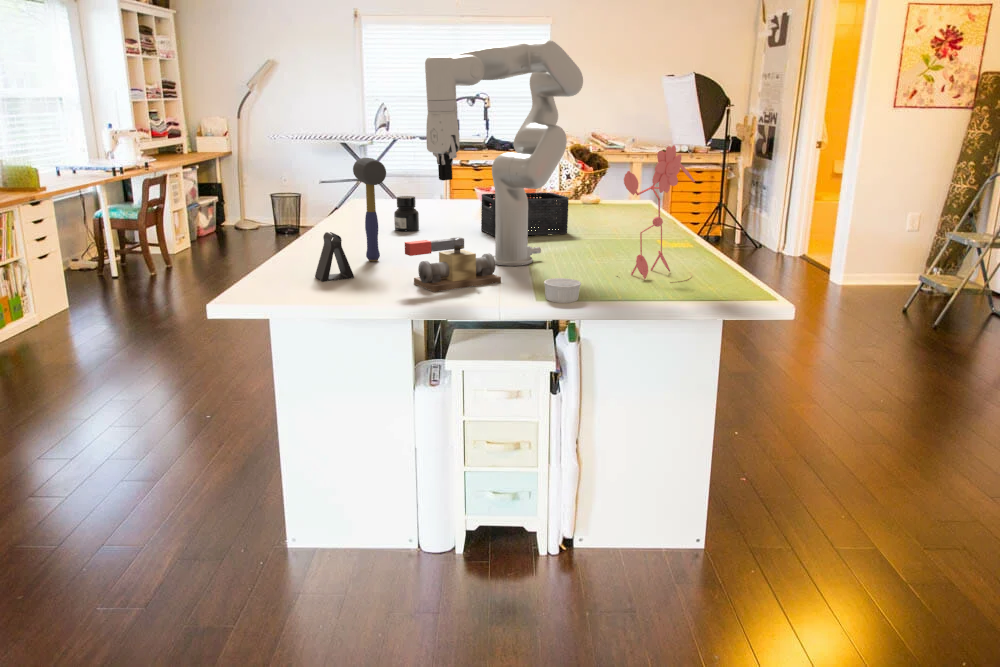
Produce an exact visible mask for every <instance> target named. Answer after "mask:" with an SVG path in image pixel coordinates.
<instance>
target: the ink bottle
mask: <svg viewBox="0 0 1000 667" xmlns="http://www.w3.org/2000/svg"><path fill="white" fill-rule="evenodd" d="M396 208H397V209H396V210H395V211H394V213H393V215H394V217H393V218H394V230H396V231H398V232H414V231H415V232H416V231H419V230H420V217H419V216H420V215H419V211H418V210H417V208H416V196H413V195H398V196H396Z"/></svg>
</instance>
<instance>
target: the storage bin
mask: <svg viewBox="0 0 1000 667" xmlns="http://www.w3.org/2000/svg"><path fill="white" fill-rule="evenodd" d="M525 193H526V195H527V199H528V230H529V231H528V235H545V236H549V235H548V234H560V235H566V234H565V233H567V234H568V224H569V220H568V219H569V199H570V198H569V197H568V196H565V195H562V194H561V195H560V194H558V193H554V192H525ZM480 209H481V212H480V213H481V214H480V215H481V217H480V218H481V221H480V222H481V223H480V224H481V226H480V230H481V231H482V232H484V233H487V234H488V235H490V236H492V237H495V193H483V194H481V208H480ZM531 227H532V228H531ZM534 227H535V228H534ZM538 227H539V228H538ZM548 229H550V230H548ZM552 229H553V230H552ZM555 229H556V230H555ZM558 229H559V230H558ZM531 230H532V231H531ZM535 230H536V231H535Z"/></svg>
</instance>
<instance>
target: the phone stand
mask: <svg viewBox="0 0 1000 667" xmlns="http://www.w3.org/2000/svg"><path fill="white" fill-rule="evenodd" d="M342 241H343V240H342V237H341V236H340V235H338V234H336V233H334V232H330V231H329V232H327V231H326V232H325V233H324V234H323V246H322V249H321V253H320V257H319V259H318V263H317V267H316V271H315V273H314V277H315V278H316V279H318V280H320V281H321V282H325V283H326V282H332V281H338V280H339V281H340V280H349V279H355V274H354V272H353V270H352V268H351V266H350V263H349V261H348V258H347V256H346V254H345V251H344V248H343V246H342V245H343V244H342ZM334 257H335V261H336V263H337V267H338V270H339V273H331V268H332V262H333V258H334ZM330 273H331V274H330Z"/></svg>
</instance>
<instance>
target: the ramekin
mask: <svg viewBox="0 0 1000 667" xmlns="http://www.w3.org/2000/svg"><path fill="white" fill-rule="evenodd" d="M543 284H544V296H545V299H546V300H547V301H548V302H551V303H558V304H569V303H575V302H577V301H579V297H580V296H579V295H580V290H581V286H582V283H581V281H580V280H577V279H574V278H573V279H572V278H564V277H556V278H548V279H545V280H544V281H543Z"/></svg>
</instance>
